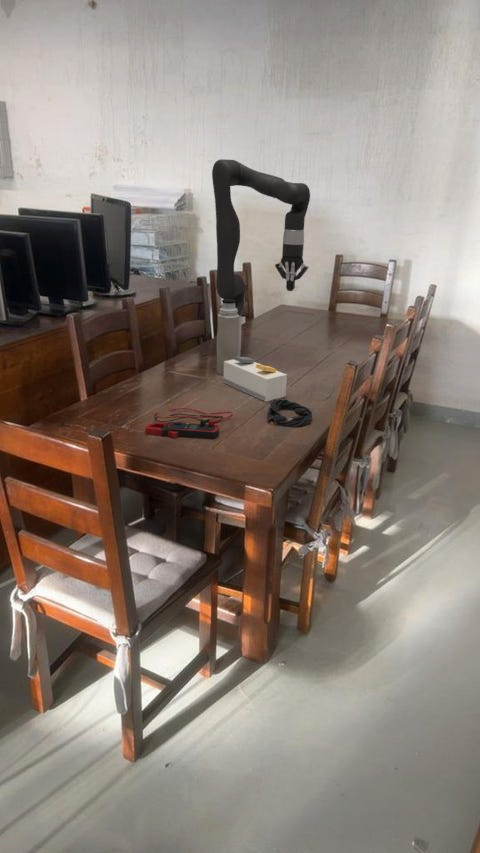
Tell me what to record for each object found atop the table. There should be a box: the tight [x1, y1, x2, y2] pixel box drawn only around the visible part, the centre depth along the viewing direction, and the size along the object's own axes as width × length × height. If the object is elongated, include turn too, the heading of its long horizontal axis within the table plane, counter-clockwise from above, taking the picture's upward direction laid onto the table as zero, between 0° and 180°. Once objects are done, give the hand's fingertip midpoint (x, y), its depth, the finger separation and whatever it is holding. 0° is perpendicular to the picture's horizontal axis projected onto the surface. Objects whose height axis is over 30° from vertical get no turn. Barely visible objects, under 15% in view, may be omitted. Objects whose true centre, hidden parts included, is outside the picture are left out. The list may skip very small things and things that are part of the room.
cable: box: [266, 398, 313, 428], centre depth 188 cm, size 17×14×4 cm
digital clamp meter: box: [144, 407, 234, 440], centre depth 180 cm, size 23×4×25 cm
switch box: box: [222, 359, 288, 402], centre depth 209 cm, size 24×9×8 cm, turn 38°
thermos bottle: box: [216, 299, 239, 376], centre depth 222 cm, size 8×8×28 cm
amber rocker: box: [256, 364, 277, 373], centre depth 203 cm, size 4×6×2 cm, turn 128°
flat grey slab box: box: [234, 356, 255, 364], centre depth 211 cm, size 4×6×2 cm, turn 128°
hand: (290, 290), depth 220 cm, fingers closed
